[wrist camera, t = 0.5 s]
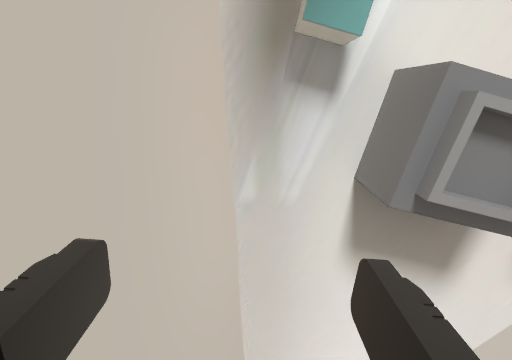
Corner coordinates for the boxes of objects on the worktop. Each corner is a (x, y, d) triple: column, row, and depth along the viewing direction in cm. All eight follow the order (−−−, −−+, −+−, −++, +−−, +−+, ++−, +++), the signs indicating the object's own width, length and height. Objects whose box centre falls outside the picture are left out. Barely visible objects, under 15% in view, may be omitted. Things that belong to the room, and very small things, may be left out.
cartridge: (304, -8, 31) (315, -31, 25) (354, 8, 31) (377, -11, 26) (294, 31, 32) (302, 18, 26) (342, 45, 33) (361, 35, 27)
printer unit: (396, 65, 33) (471, 51, 22) (515, 100, 35) (644, 104, 23) (353, 179, 38) (397, 217, 26) (460, 206, 39) (547, 254, 27)
